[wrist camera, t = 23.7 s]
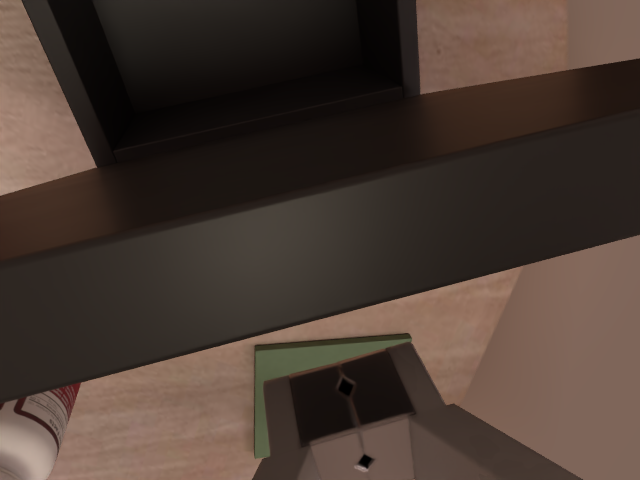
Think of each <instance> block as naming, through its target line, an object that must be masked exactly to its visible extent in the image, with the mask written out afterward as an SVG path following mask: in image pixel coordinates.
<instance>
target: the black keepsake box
mask: <svg viewBox="0 0 640 480" xmlns="http://www.w3.org/2000/svg"><path fill="white" fill-rule="evenodd" d="M22 2H23V5H24V7H25V9H26V11H27V13H28V16H29V18H30V20H31V22H32V24H33V27H34V29H35V31H36V33H37V35H38V38H39V40H40V42H41V44H42V46H43V49H44V51H45V53H46V55H47V57H48V60H49V62H50V64H51V66H52V69H53V71H54V73H55V75H56V77H57V80H58V82H59V84H60V86H61V88H62V91H63V93H64V95H65V97H66V99H67V102H68V104H69V106H70V108H71V110H72V113H73V115H74V117H75V119H76V121H77V124H78V126H79V128H80V130H81V132H82V135H83V137H84V139H85V141H86V143H87V146H88V148H89V150H90V152H91V155H92V157H93V159H94V161H95V163H96V166H97V168H98V167H102V166H106V165H111V164H115V163H120V162H124V161H129V160H133V159H137V158H142V157H146V156H151V155H155V154H160V153H164V152H168V151H173V150H177V149H182V148H186V147H191V146H195V145H199V144H204V143H208V142H213V141H217V140H222V139H226V138H230V137H235V136H239V135H244V134H248V133H253V132H257V131H261V130H266V129H270V128H275V127H279V126H284V125H288V124H292V123H297V122H301V121H306V120H310V119H315V118H319V117H323V116H328V115H332V114H337V113H341V112H346V111H350V110H354V109H359V108H363V107H368V106H372V105H377V104H381V103H385V102H390V101H394V100H399V99H403V98H408V97H412V96H416V95H421V94H420V74H419V54H418V34H417V14H416V0H22Z"/></svg>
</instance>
